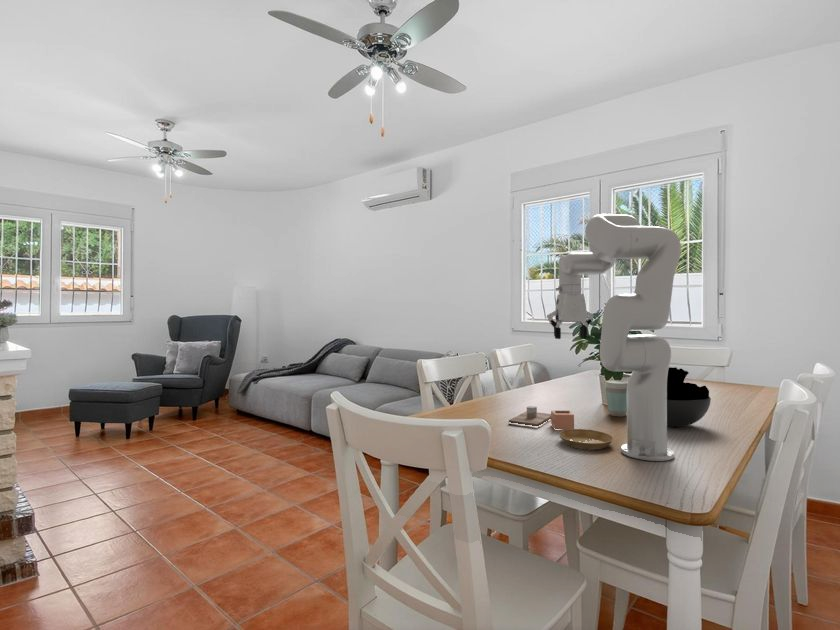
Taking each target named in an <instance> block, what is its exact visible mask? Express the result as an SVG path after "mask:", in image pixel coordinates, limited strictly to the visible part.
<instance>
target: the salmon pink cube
mask: <svg viewBox="0 0 840 630" xmlns="http://www.w3.org/2000/svg"><path fill="white" fill-rule="evenodd" d="M550 414H551V421H550V425H551V424H552V426H553V427H554V428H555V429H563V430H562V431H564V430H570V429H575V414H574V413H573V412H572V411H570V410H556V409H555V410H550ZM552 426H551V427H552ZM553 427H552V428H553ZM554 428H553V429H554Z"/></svg>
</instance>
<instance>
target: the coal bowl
mask: <svg viewBox="0 0 840 630" xmlns="http://www.w3.org/2000/svg"><path fill="white" fill-rule="evenodd" d="M689 374H690V373H689V371H687V370H684V369H683V368H678V367H670V366H669V369H668V376H667V426H671V427H686V426H691V425H693V424H695V423H697V422H698V421H700V420H702V419H703V417H704V416H705V415H706V414H707V412H708V410H709V408H710V405H711V400H712V399H711V397H710V389H708V387H707V386H706V385H702V386H700V385H697V383H692V382H685V379H686V377H687V376H688V375H689Z"/></svg>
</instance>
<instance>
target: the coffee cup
mask: <svg viewBox="0 0 840 630" xmlns="http://www.w3.org/2000/svg"><path fill="white" fill-rule="evenodd" d="M627 384H628V381H626V380H615V379H612V380H606V381H605V383H604V388H605V394H606V404H607V411H608V415H610V416H613V417H627Z"/></svg>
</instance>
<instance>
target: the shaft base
mask: <svg viewBox="0 0 840 630" xmlns="http://www.w3.org/2000/svg"><path fill="white" fill-rule="evenodd" d="M537 408H538V407H537V406H533V405H529V406H527V407H526V411H525V412H522V413H520V414H518V415H517V416H513V417H512V418H510V419H509V420H508V423H509V422H511V423H518V424H525V425H532V426H539V425H541V424H543V423H544V422H546V421H548V420H549V419H551V413H544V412H538V409H537Z"/></svg>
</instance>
